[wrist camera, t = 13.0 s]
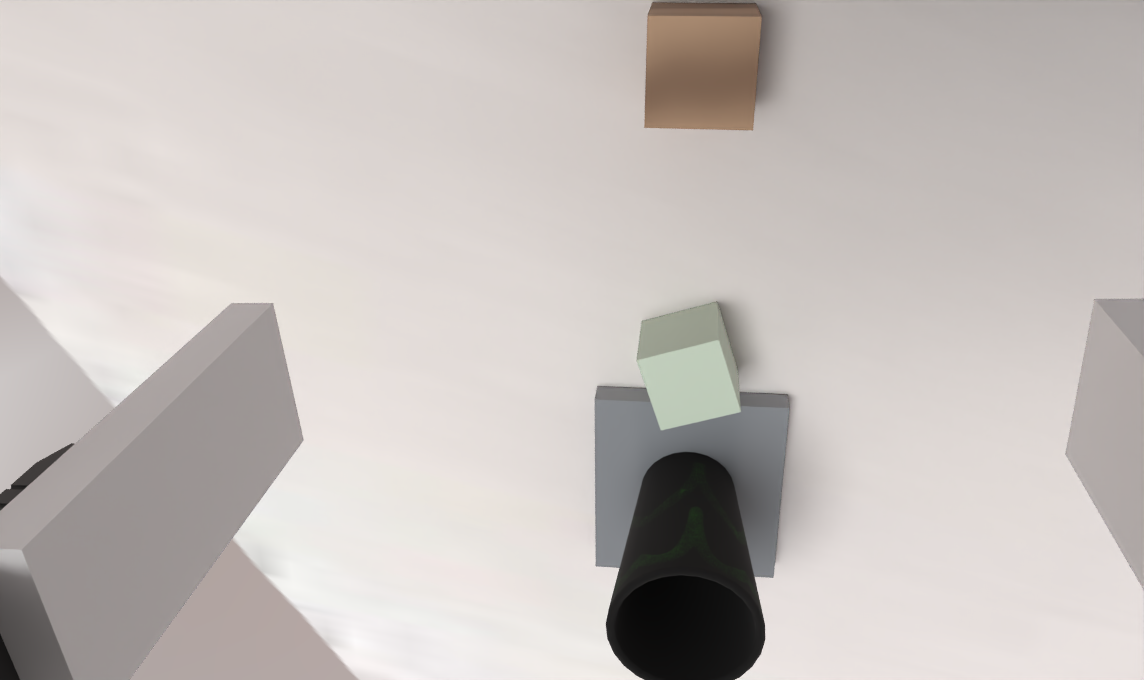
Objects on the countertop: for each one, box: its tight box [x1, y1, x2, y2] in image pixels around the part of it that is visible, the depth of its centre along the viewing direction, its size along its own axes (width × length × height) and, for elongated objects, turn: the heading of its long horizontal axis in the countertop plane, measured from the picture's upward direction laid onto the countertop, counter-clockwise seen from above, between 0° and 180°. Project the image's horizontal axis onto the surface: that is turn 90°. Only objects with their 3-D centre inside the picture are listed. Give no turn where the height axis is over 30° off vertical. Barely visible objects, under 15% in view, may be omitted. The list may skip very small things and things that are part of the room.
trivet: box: [595, 386, 789, 578], centre depth 58 cm, size 12×11×2 cm
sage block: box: [637, 302, 741, 430], centre depth 52 cm, size 4×4×5 cm
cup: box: [606, 452, 765, 680], centre depth 52 cm, size 8×8×12 cm
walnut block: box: [644, 3, 762, 130], centre depth 46 cm, size 5×5×5 cm
